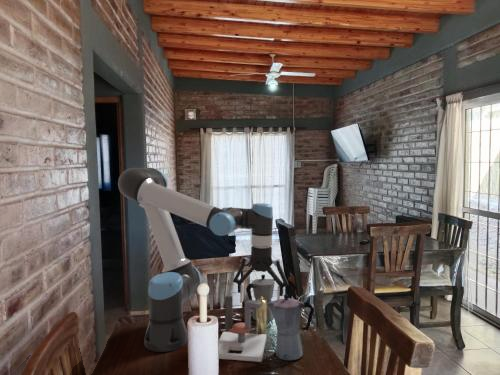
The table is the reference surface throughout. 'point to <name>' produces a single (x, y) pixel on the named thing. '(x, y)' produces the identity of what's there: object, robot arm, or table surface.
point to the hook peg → (261, 317)
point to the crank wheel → (239, 327)
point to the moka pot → (289, 326)
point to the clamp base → (242, 346)
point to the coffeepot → (262, 294)
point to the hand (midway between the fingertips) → (259, 302)
